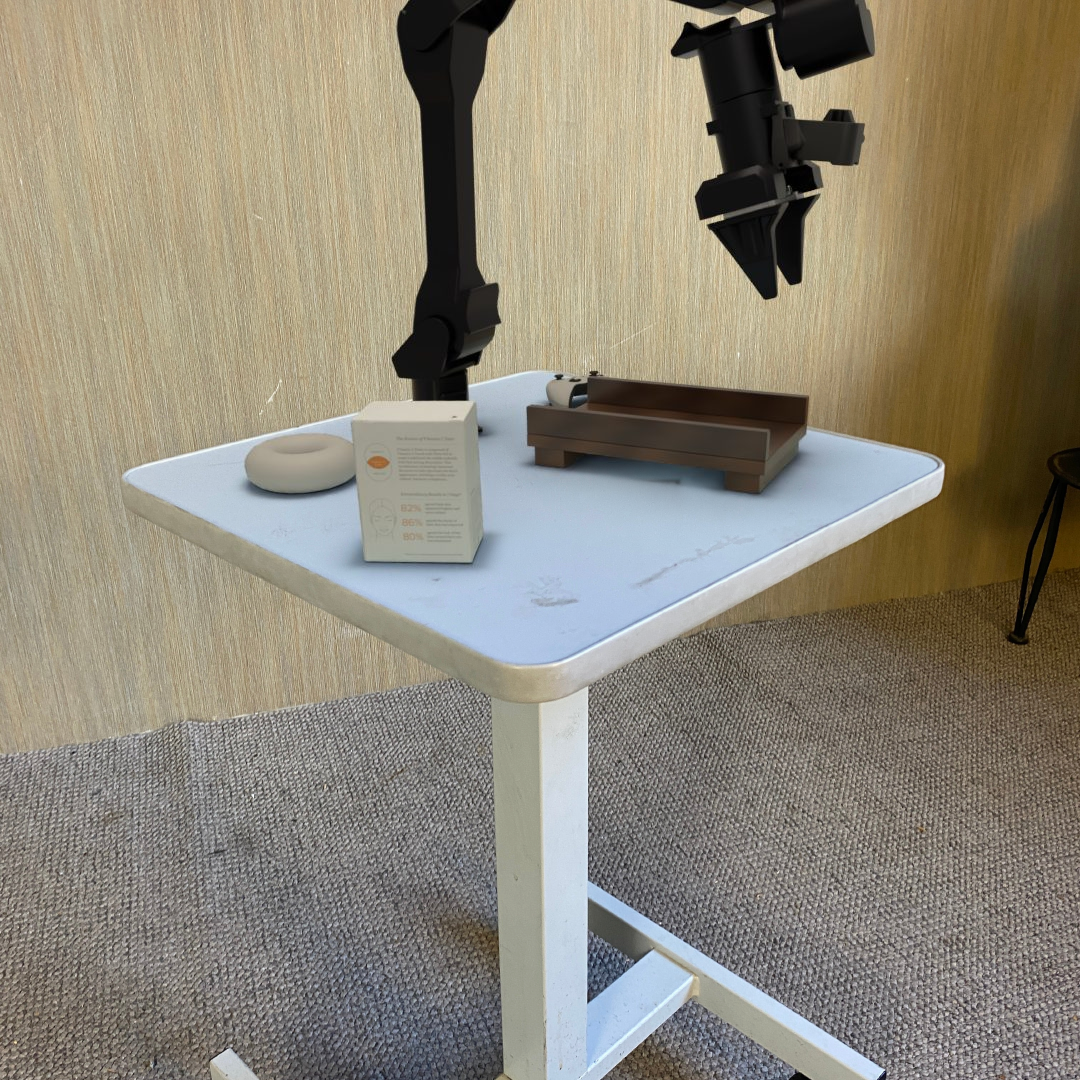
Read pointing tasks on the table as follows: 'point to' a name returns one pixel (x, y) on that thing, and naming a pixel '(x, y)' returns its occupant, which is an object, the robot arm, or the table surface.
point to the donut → (301, 463)
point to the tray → (675, 428)
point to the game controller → (567, 389)
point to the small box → (418, 480)
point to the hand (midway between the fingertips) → (784, 291)
